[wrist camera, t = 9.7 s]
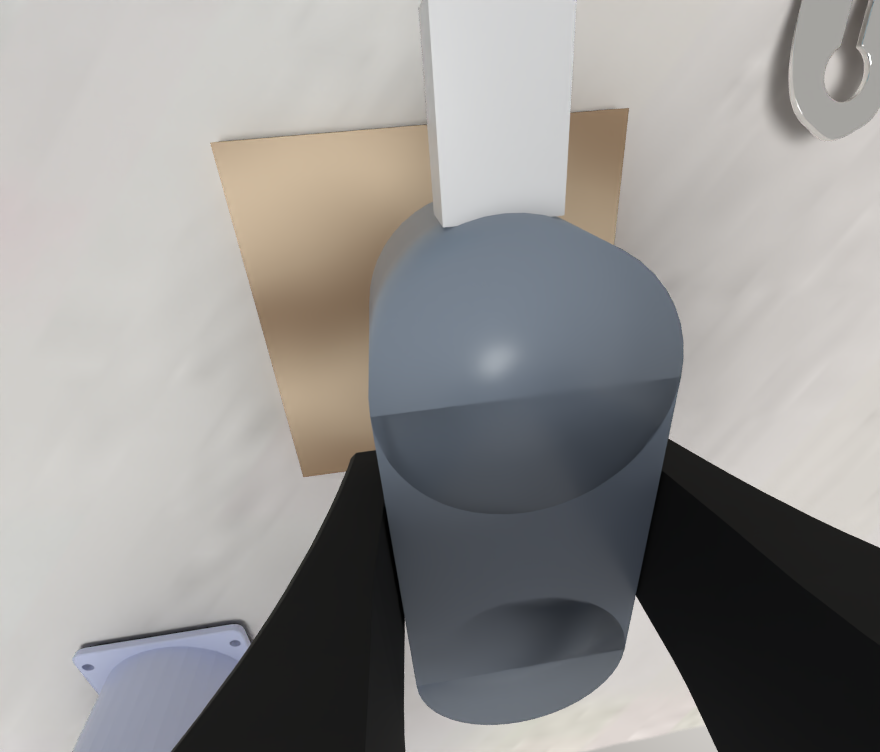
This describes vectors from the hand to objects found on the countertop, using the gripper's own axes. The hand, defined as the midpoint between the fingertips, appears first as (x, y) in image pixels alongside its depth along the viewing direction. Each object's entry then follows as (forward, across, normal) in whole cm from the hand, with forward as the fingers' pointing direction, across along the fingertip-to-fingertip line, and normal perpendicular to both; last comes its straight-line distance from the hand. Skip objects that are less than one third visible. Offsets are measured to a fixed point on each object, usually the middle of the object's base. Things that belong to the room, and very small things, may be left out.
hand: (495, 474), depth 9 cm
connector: (+1, 0, -1) cm, 2 cm away
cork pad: (+9, 0, 0) cm, 9 cm away
